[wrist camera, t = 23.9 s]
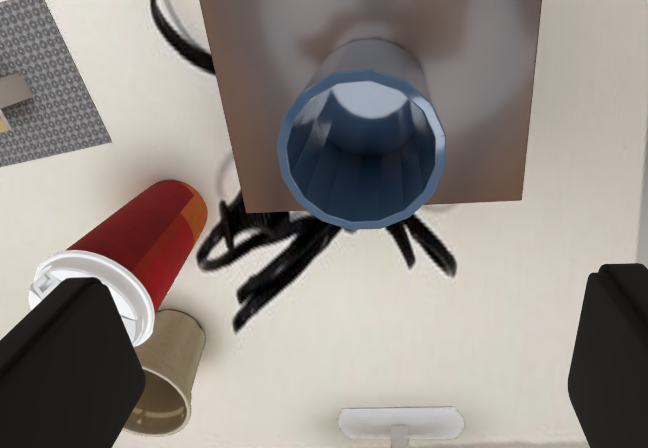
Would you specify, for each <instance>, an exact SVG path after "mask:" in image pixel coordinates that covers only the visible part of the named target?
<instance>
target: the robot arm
mask: <svg viewBox="0 0 648 448" xmlns="http://www.w3.org/2000/svg"><path fill="white" fill-rule="evenodd" d="M145 385H146V377H145V373H144V371H143V369H142V366H141V364H140V361H139V359H138V357H137V354H136V352H135V349H134V347H133V345H132V342H131V340H130V338H129V335H128V333H127V330H126V328H125V326H124V323H123V321H122V318H121V316H120V314H119V311H118V309H117V307H116V304H115V302H114V299H113V297H112V295H111V292H110V290H109V288H108V287H107V286H106V285H105V284H102V282H101V281H100V280H99V279H98V278H95V277H75V278H66V279H65V280H63V281H62V282H61V283H60V284H59V285H58V286H57V287H55V288H54V289H53V290H52V291H51V292H50V293H49V294H48V295H47V296H46V297H45V298H44V299H43V300H42V301H41V302H40V303H39V304H38V305H37V306H36V307H35V308H34V309H33V310H32V311H31V312H30V313H28V314H27V315H26V316H25V317H24V318H23V319H22V320H21V321H20V322H19V323H18V324H17V325H16V326H15V327H14V328H13V329H12V330H11V331H10V332H9V333H8V334H7V335H6V336H5V337H4V338H3V339H1V340H0V448H112V446H113V444H114V442H115V441H116V439H117V437H118V436H119V434H120V432H121V430H122V429H123V427H124V425H125V423H126V422H127V420H128V418H129V416H130V415H131V413H132V411H133V409H134V408H135V406H136V404H137V403H138V401H139V399H140V397H141V396H142V394H143V392H144V389H145ZM568 393H569V397H570V400H571V403H572V405H573V408H574V410H575V413H576V415H577V417H578V420H579V422H580V424H581V427H582V429H583V432H584V434H585V436H586V439H587V441H588V443H589V446H590V448H648V269H647V268H646V267H645V266H644V265H642V264H639V263H634V264H604V265H602V266H601V267H600V269H599V272H598V273H591V274H590V275H589V277H588V280H587V285H586V290H585V295H584V300H583V306H582V311H581V316H580V321H579V326H578V331H577V336H576V341H575V346H574V352H573V357H572V362H571V367H570V372H569V377H568Z"/></svg>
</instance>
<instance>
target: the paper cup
mask: <svg viewBox="0 0 648 448" xmlns="http://www.w3.org/2000/svg"><path fill="white" fill-rule="evenodd" d="M206 220H207V209H206V205H205V203H204V201H203V199H202V197H201V196H200V195H199V194H198V193H197V192H196V191H195V190H194V189H193V188H192V187H190V186H189V185H187V184H185V183H182V182H179V181H175V180H164V181H160V182H158V183H156V184H154V185H152V186H151V187H149V188H148V189H146V190H145V191H144V192H142V193H141V194H139V195H138V196H137V197H135V198H134V199H133V200H131V201H130V202H129V203H127V204H126V205H125V206H123V207H122V208H121V209H119V210H118V211H117V212H115V213H114V214H113V215H111V216H110V217H109V218H107V219H106V220H105V221H103V222H102V223H101V224H100V225H98V226H97V227H96V228H94V229H93V230H92V231H90V232H89V233H88V234H86V235H85V236H84V237H82V238H81V239H80V240H78V241H77V242H76V243H75V244H73V245H72V246H71V247H69V248H68V249H67V250H65V251H61V252H57V253H55V254H53V255H50V256H49V257H48V258H46V259H45V260H44V261H43V262H42V263H41V264H40V265H39V267H38V269H37V271H36V273H35V278H34V282H33V284H32V285H31V287H30V290H29V305H30V309H31V311H32V310H33V309H34V308H35V307H36V306H37V305H38V304H39V303H40V302H41V301H42V300H43V299H44V298H45V297H46V296H47V295H48V294H49V293H50V292H51V291H52V290H53V289H54V288H55V287H57V286H58V285H59V284H60V283H61V282H62V281H63V280H65V279H66V278H75V277H95V278H98V279H99V280H100V281H101V282H102V284H105V285H106V286H107V287H108V288H109V290H110V292H111V295H112V297H113V299H114V302H115V304H116V307H117V309H118V311H119V314H120V316H121V318H122V321H123V323H124V326H125V328H126V330H127V333H128V335H129V338H130V340H131V342H132V345H133V347H135V346H138V345H140V344H142V343H144V342H145V341H146V340H147V339H148V338H149V337H150V335H151V334H152V333H153V326H154V320H155V313H156V312H157V310H158V308H159V306H160V305H161V303H162V301H163V299H164V298H165V296H166V294H167V292H168V291H169V289H170V287H171V285H172V284H173V282H174V280H175V278H176V277H177V275H178V273H179V271H180V270H181V268H182V266H183V264H184V263H185V261H186V259H187V257H188V256H189V254H190V252H191V250H192V248H193V247H194V245H195V243H196V241H197V240H198V238H199V236H200V234H201V232H202V230H203V228H204V226H205V224H206Z"/></svg>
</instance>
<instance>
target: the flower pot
mask: <svg viewBox="0 0 648 448" xmlns="http://www.w3.org/2000/svg"><path fill="white" fill-rule="evenodd" d="M204 345H205V334H204V331H203V330H201V329H200V327H199V326H198V324H197V323H196V321H195V320H194V319H193V318H191V317H190V316H188V315H186V314H184V313H181V312H178V311H173V310H164V311H161V312H159V313H156V314H155V320H154V326H153V333H152V334H151V335H150V337H149V338H148V339H147V340H146V341H145V342H144V343H142V344H140V345H138V346H135V347H134V349H135V352H136V354H137V357H138V359H139V361H140V364H141V366H142V369H143V371H144V373H145V377H146V385H145V389H144V392H143V394H142V396H141V397H140V399H139V401H138V403H137V404H136V406H135V408H134V409H133V411H132V413H131V415H130V416H129V418H128V420H127V422H126V423H125V425H124V427H123V429H122V430H124V431H126V432H129V433H132V434H137V435H141V436H148V437H164V436H169V435H172V434H175V433H177V432H179V431H180V430H182V429H183V428H184V427H185V426H186V425H187V423H188V421H189V419H190V416H191V404H190V403H191V390H192V386H193V383H194V379H195V376H196V372H197V368H198V365H199V361H200V358H201V354H202V351H203V348H204Z"/></svg>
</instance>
